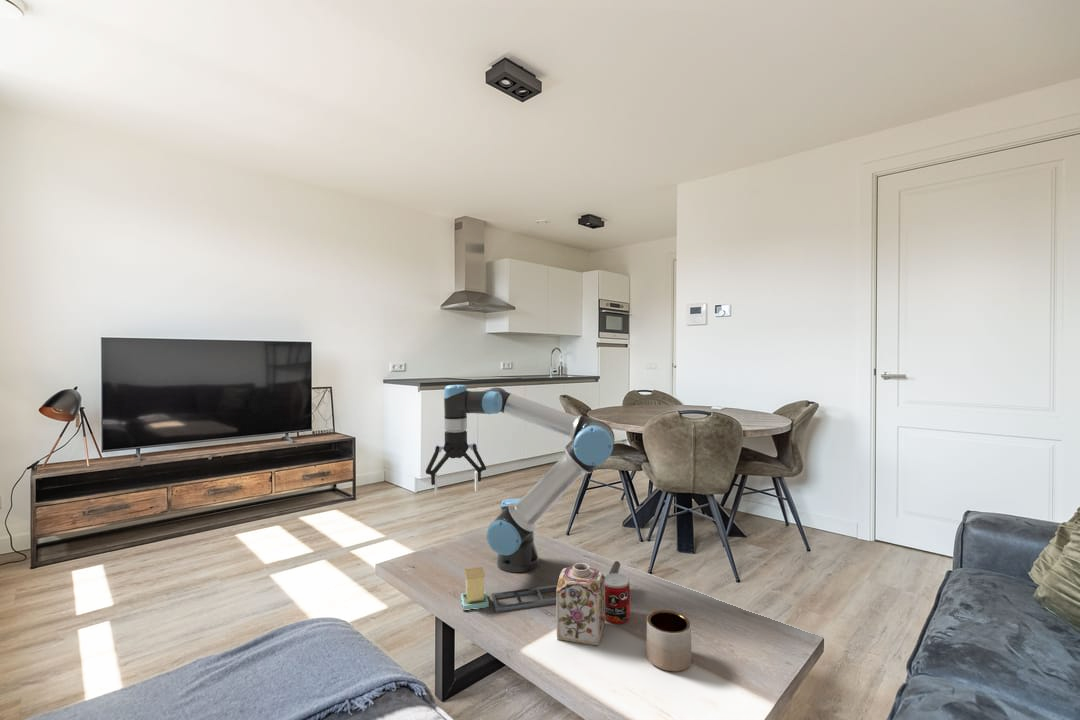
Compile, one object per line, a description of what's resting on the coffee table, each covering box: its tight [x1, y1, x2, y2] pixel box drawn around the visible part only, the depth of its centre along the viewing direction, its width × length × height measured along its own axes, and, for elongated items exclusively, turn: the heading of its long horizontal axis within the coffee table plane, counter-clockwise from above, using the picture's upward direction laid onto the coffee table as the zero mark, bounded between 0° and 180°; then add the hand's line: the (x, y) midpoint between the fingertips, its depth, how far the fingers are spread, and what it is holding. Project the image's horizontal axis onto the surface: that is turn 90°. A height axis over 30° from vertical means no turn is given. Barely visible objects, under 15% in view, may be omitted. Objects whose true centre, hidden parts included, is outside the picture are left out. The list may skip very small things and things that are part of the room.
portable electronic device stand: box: [608, 560, 621, 574], centre depth 154 cm, size 9×8×8 cm
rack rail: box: [490, 584, 557, 613], centre depth 150 cm, size 22×9×1 cm, turn 105°
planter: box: [645, 609, 693, 672], centre depth 121 cm, size 11×11×10 cm
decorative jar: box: [555, 562, 606, 646], centre depth 133 cm, size 12×12×18 cm
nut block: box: [464, 566, 486, 604], centre depth 148 cm, size 6×6×9 cm
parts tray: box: [460, 589, 490, 610], centre depth 148 cm, size 8×8×2 cm
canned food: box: [604, 573, 630, 625], centre depth 140 cm, size 8×8×11 cm
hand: (456, 492), depth 165 cm, fingers open, 13 cm apart
